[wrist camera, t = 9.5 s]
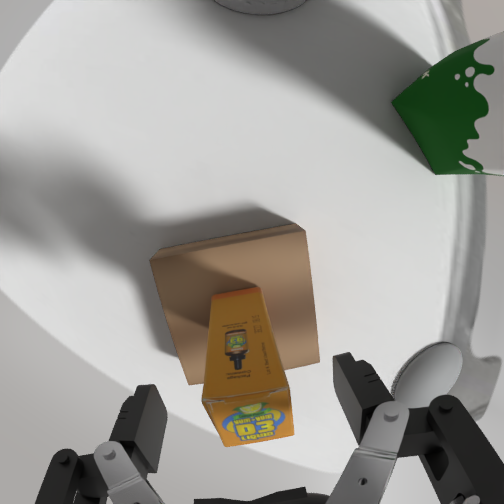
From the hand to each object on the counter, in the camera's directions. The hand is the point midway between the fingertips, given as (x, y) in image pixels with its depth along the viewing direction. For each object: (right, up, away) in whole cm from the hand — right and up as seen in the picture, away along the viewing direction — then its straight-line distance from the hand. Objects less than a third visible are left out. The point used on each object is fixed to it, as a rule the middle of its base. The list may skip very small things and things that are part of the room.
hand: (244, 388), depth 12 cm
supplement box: (0, +2, +8) cm, 8 cm away
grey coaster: (+20, -8, +14) cm, 25 cm away
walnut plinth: (-1, +2, +11) cm, 11 cm away
